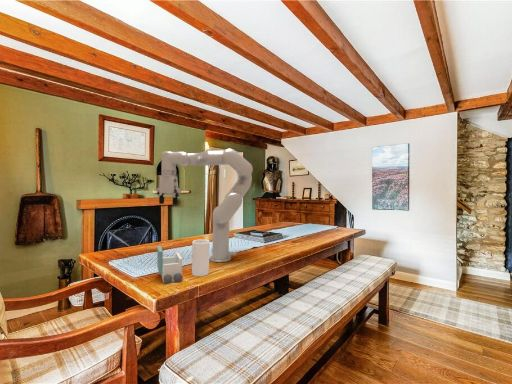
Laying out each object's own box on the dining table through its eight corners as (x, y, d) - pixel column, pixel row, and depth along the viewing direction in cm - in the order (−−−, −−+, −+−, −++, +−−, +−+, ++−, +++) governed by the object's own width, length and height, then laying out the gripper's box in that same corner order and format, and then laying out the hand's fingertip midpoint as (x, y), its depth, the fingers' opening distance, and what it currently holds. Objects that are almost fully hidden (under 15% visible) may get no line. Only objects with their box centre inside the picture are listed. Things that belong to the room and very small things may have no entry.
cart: (177, 271, 128) (177, 251, 128) (182, 281, 115) (182, 259, 115) (160, 273, 125) (161, 253, 125) (163, 284, 112) (163, 261, 112)
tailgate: (160, 266, 123) (160, 246, 123) (162, 273, 113) (162, 251, 113) (157, 266, 122) (157, 246, 122) (159, 274, 113) (159, 251, 112)
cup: (193, 270, 130) (193, 239, 130) (209, 270, 131) (210, 239, 130) (190, 276, 122) (191, 243, 121) (208, 276, 123) (208, 243, 122)
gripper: (185, 174, 143) (184, 204, 143) (161, 174, 150) (161, 203, 150) (176, 173, 136) (175, 205, 136) (151, 173, 143) (151, 203, 143)
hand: (168, 204), depth 143 cm, fingers open, 9 cm apart
